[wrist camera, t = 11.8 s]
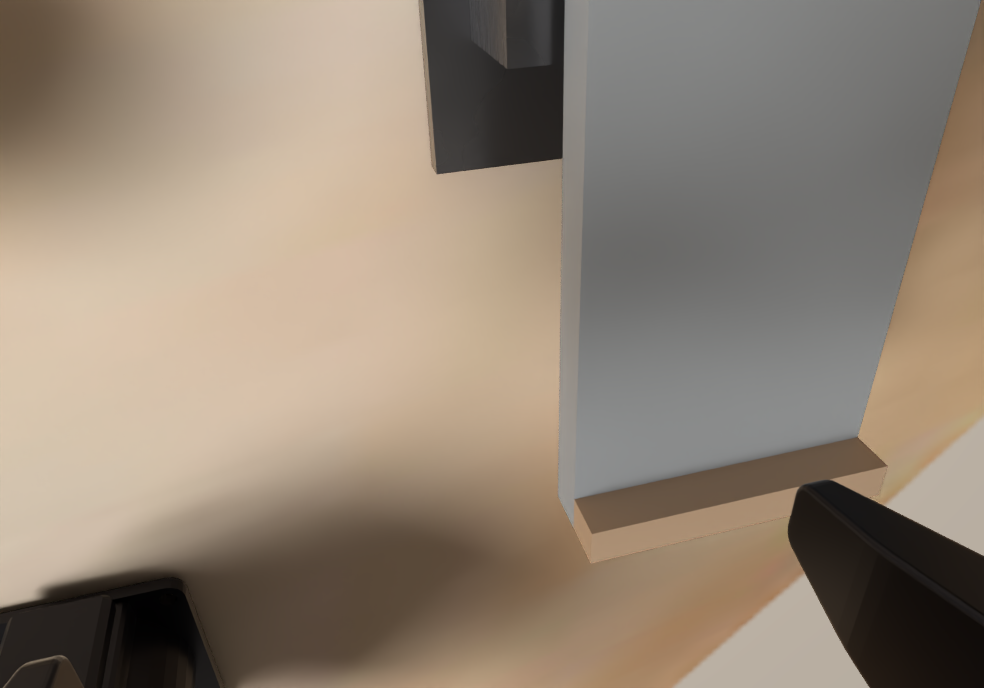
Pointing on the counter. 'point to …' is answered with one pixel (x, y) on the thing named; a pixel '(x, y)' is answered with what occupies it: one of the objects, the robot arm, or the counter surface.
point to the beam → (735, 248)
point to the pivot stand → (493, 81)
